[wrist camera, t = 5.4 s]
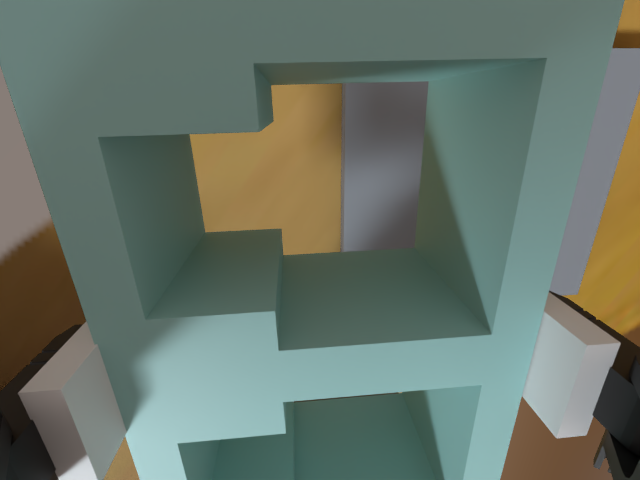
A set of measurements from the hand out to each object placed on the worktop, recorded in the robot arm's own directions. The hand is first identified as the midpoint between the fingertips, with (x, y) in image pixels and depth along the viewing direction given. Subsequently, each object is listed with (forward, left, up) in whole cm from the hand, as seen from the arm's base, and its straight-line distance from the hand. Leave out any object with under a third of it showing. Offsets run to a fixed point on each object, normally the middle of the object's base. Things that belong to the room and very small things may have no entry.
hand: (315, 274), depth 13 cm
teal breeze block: (0, 0, 0) cm, 0 cm away
